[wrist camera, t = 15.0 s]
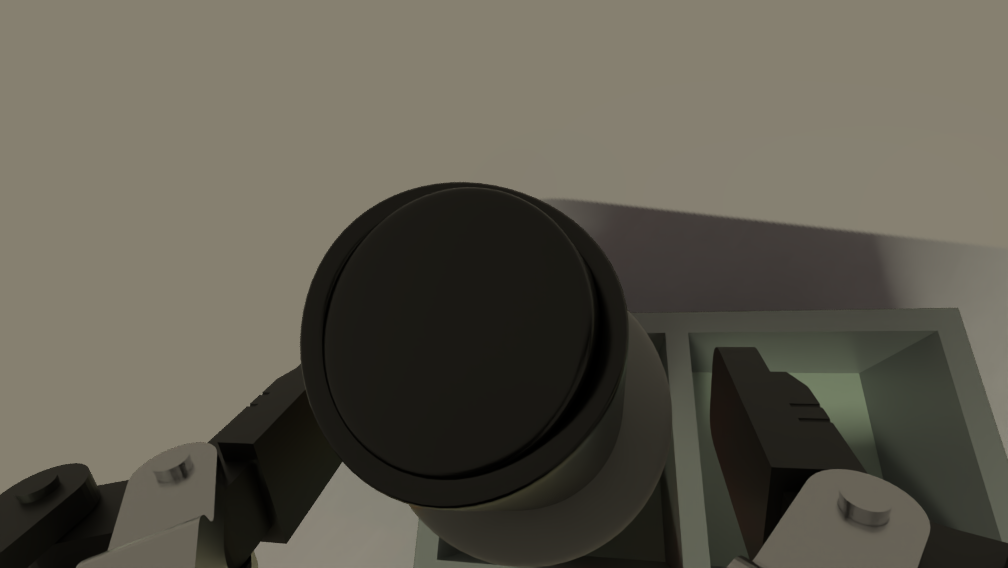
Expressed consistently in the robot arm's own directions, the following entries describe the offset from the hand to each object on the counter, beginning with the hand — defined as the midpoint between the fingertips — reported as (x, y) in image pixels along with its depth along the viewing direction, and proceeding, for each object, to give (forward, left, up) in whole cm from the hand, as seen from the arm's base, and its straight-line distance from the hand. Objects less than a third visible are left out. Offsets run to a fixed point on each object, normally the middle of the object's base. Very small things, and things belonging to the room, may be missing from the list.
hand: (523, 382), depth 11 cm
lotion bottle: (0, +1, -14) cm, 14 cm away
